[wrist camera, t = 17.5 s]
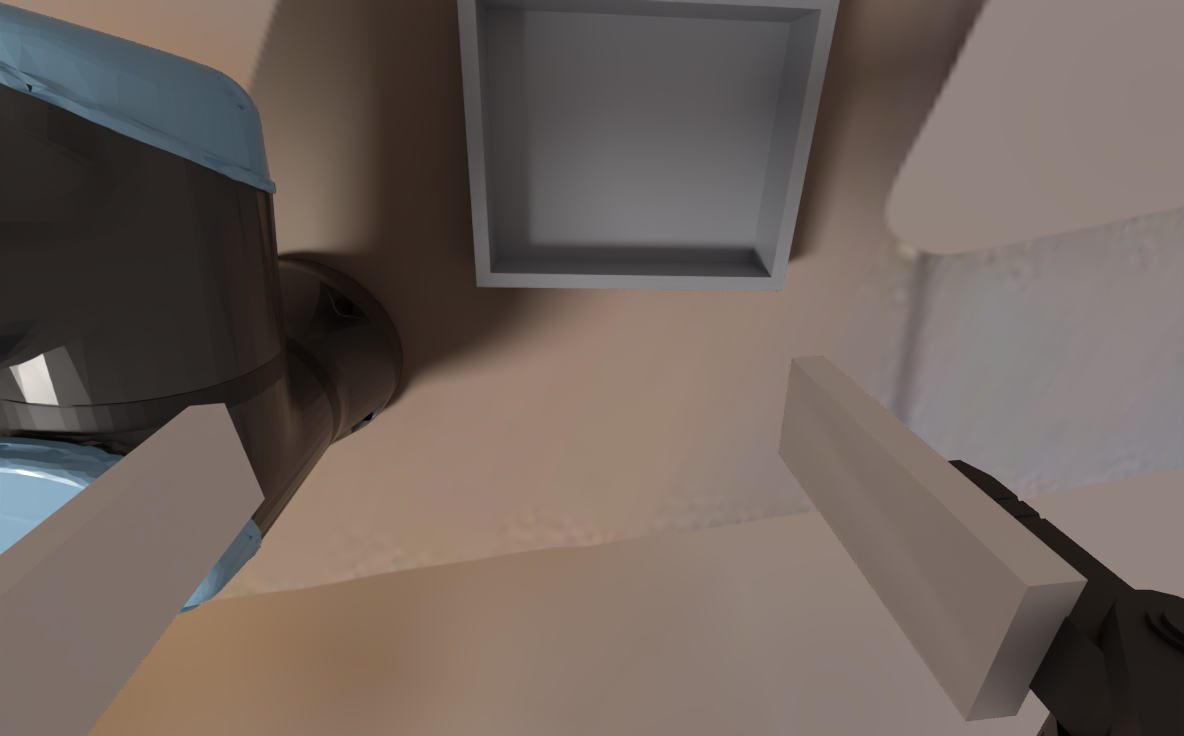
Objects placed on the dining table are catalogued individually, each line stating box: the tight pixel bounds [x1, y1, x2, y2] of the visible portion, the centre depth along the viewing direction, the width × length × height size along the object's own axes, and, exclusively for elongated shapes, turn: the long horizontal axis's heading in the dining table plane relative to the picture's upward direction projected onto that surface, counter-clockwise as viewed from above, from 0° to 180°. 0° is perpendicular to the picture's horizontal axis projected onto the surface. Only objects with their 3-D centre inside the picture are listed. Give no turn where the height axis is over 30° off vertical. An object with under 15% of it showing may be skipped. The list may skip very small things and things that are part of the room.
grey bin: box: [457, 0, 840, 291], centre depth 35 cm, size 22×18×5 cm
